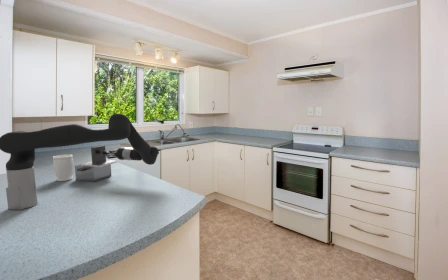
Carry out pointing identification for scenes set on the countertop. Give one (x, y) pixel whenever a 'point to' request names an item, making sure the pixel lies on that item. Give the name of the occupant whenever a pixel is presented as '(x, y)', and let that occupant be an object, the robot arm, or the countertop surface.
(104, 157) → the lid
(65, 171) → the jar
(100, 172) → the grey rectangular container
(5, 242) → the countertop surface
